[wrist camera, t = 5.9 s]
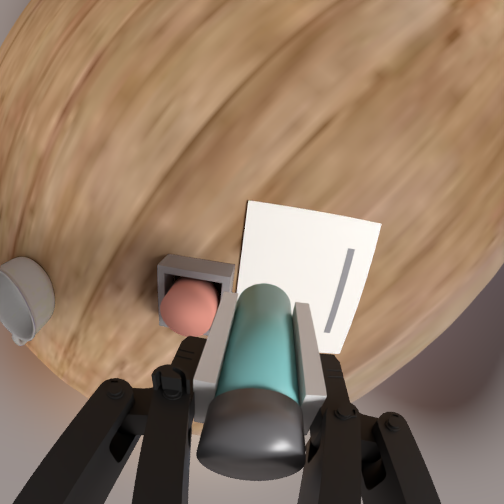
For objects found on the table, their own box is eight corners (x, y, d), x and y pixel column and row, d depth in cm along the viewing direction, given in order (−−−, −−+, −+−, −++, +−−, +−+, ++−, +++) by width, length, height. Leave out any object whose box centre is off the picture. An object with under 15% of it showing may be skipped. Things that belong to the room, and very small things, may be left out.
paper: (248, 200, 25) (248, 200, 24) (380, 223, 24) (381, 223, 24) (231, 340, 30) (230, 341, 30) (339, 352, 30) (339, 354, 30)
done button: (172, 270, 26) (159, 285, 23) (221, 278, 26) (214, 296, 23) (172, 312, 28) (161, 330, 24) (217, 321, 28) (211, 341, 24)
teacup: (24, 235, 28) (-14, 254, 21) (71, 280, 30) (33, 309, 22) (17, 298, 33) (-11, 320, 25) (58, 338, 34) (31, 366, 27)
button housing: (168, 253, 27) (157, 264, 24) (235, 264, 27) (230, 277, 24) (168, 310, 30) (159, 325, 27) (228, 322, 29) (224, 338, 27)
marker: (237, 278, 15) (193, 430, 6) (297, 285, 15) (318, 442, 6) (233, 327, 16) (198, 473, 7) (287, 333, 16) (292, 482, 7)
